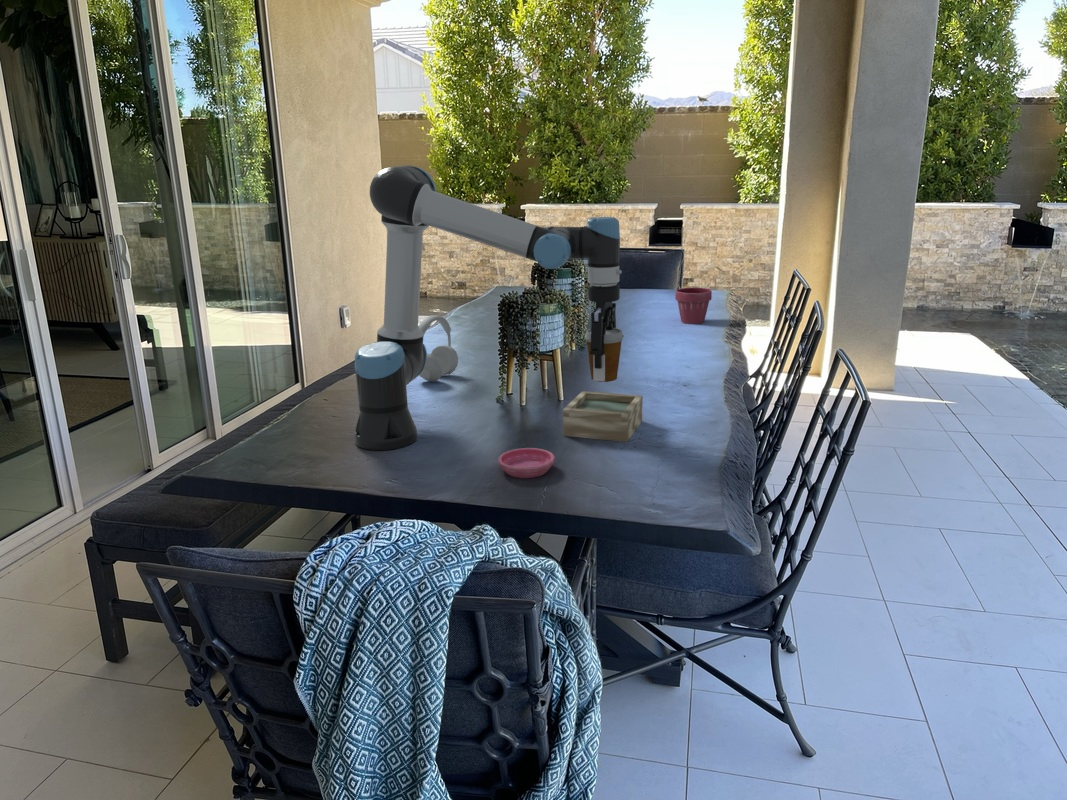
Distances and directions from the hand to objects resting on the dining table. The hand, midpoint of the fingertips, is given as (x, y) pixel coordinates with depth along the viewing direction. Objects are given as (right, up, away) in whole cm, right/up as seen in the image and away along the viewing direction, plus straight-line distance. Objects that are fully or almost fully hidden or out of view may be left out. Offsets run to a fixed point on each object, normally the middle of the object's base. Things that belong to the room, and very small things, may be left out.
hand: (604, 375), depth 197 cm
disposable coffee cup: (0, -1, 0) cm, 1 cm away
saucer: (-19, -22, -20) cm, 35 cm away
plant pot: (+46, +25, +123) cm, 134 cm away
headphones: (-47, 0, +52) cm, 70 cm away
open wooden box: (0, -13, +4) cm, 14 cm away
